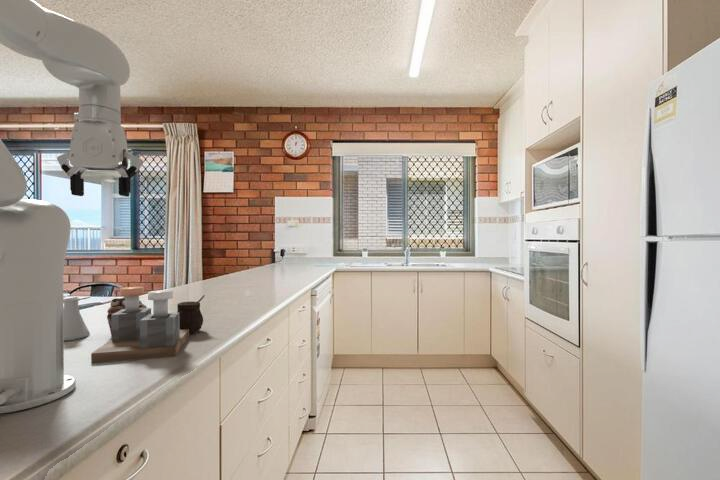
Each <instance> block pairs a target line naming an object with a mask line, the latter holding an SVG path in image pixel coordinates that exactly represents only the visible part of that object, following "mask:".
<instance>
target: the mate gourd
mask: <svg viewBox="0 0 720 480" xmlns="http://www.w3.org/2000/svg"><path fill="white" fill-rule="evenodd" d="M205 296H206V295H203V296H202V297H201V298H200V299H198V300H197V301H181V302H179V303H177V305H176V306H177V312H176V313H180V330H183V329H189V335H192V334H193V335H194V334H196V333H199V331H200V330H201V329H202V326H203V323H204V317H203V314H202V312H201V301H202V300H203V299H204V297H205Z"/></svg>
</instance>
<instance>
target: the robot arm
mask: <svg viewBox="0 0 720 480" xmlns="http://www.w3.org/2000/svg"><path fill="white" fill-rule="evenodd" d="M0 44H1V45H3V46H4V47H6V48H8V49H9V50H12V51H13V52H15V53H17V54H18V55H22V56H24V57H27V58H31V59H36V60H38V61H39V60H40V61H42V65H43V66H44V67H45V69H46V70H47V72H48V73H49V74H51V75H52V76H53V77H54V78H55V79H57V80H59V81H61V82H63V83H65V84H68V85H71V86H73V87H75V88H77V89H78V112H74V113H73V115H72V116H73V119H74V120H78V121H75V122H74V124H73V127H72V131H71V136H70V145H69V150H68V151H67V152H65V153H63V154H61V155H58V156H57V157H56V159H57V162H58V164H59V165H60V168H61V169H62V171H64V172H65V173H66V175H67V176H68V177H69V180H70V181H69V182H70V184H69V185H70V187H69V189H70V191H71V192H70V193H71V196H78V197H83V196H85V191H84V190H85V182H84V181H85V180H84V178H83V177H82V176H83V175H84V174H85V173H86V172H87V171H101V172H102V171H103V172H104V171H106V172H108V171H109V172H118V174H119V175H120V176H119V178H118V195H119V196H121V197H128V198H129V197H130V193H131V192H132V191H131V190H132V189H131V187H132V186H131V185H132V184H131V183H132V181H131V180H133V178H134V176H136V174H138V173H139V172H140V168H141V167H142V165H143V164H144V160H143V159H141V158H140V157H138V156H136V155H134V154H132V153H129V151H128V141H127V137H126V134H125V129H124V127H123V126H122V124H121V123H122V122H121V119H122V116H121V113H122V112H121V110H122V109H121V108H122V107H121V86H124V85H125V84H127V82H128V81H129V79H130V76H131V70H130V64H129V61H128V59H127V57H126V55H125V54H124V53H123V50H121V48H120V47H119V46H118V45H117V44H116V43H115V42H114V41H113V40H111V38H109V37H108V36H106V35H105V34H104V33H102V32H100V31H99V30H97V29H94V28H92V27H90V26H88V25H86V24H83V23H81V22H78V21H75V20H73V19H72V18H69V17H66V16H64V15H62V14H59V13H58V12H55V11H52V10H49V9H48V8H45V7H42V6H41V5H40V4H39V3H37V2H36V1H35V0H0ZM129 160H130V161H132V165H131V166H130V167H129V168H128V166H129ZM27 183H28V182H27V179H26V176H25V174H24V172H23V170H22V168H21V167H20V165H19V164H18V162H17V160H16V159H15V157H14V156H13V155H12V153H11V152H10V151H9V149H8V148H7V146H6V144H5V143H4V141H3V140H2V139H1V138H0V415H2V414H7V413H14V412H18V411H22V410H23V411H24V410H28V409H31V408H35V407H39V406H42V405H45V404H48V403H50V402H53V401H55V400H57V399H60V398H62V397H64V396H65V395H67V394H70V392H71V391H74V389H75V387H76V378H75V377H73V376H72V375H68V374H65V373H64V371H65V366H64V365H65V362H64V360H65V359H64V357H65V356H64V355H65V352H64V351H65V350H64V347H65V342H64V325H63V310H64V302H63V299H64V271H65V270H64V269H65V262H66V255H67V250H68V245H69V242H70V241H69V240H70V237H71V230H72V228H71V227H72V226H71V221H70V220H71V219H70V218H69V216H68V214H67V212H65V211H64V209H62V208H61V207H60V206H58V205H56V204H54V203H52V202H49V201H44V200H39V199H28V198H24V197H25V195H27V194H26V193H27V190H28V188H27V187H28V184H27Z"/></svg>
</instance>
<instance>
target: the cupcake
mask: <svg viewBox="0 0 720 480" xmlns="http://www.w3.org/2000/svg"><path fill="white" fill-rule="evenodd" d="M139 308H148V307H147V305H146V304H143V303H142V301H141V300H140V299H139ZM121 309H125V296H123V297H122V298H113V299H112V300H111V301H110V307H109V308H108V309H107V312H106V313H107V316H106V319H107V324H108V327H109V331H110V334H111V337H112V327H111V315H112V314H114V313H116V312H118V311H120V310H121Z"/></svg>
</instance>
